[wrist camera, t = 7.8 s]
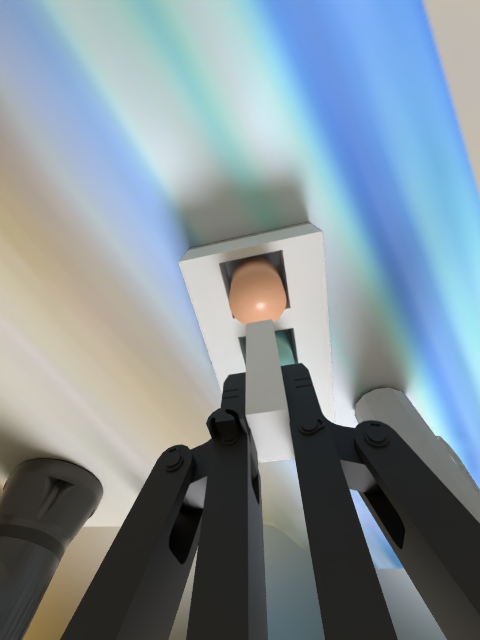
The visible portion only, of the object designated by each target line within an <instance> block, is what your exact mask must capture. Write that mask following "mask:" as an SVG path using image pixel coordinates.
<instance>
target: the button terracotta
mask: <svg viewBox="0 0 480 640" xmlns="http://www.w3.org/2000/svg"><path fill="white" fill-rule="evenodd" d="M229 307H230V310H231V312H232V314H233V315H234V317H235V318H236V319H237V320H238V321H240V322H241V323H243V324H245V325H246V324H247V323H252V322H258V321H264V320H269V319H272V321H273V322H275V321H276V320H277V319H278V318H279V317H280V316H281V315H282V313H283V312H284V310H285V307H286V294H285V291H284V288H283V285H282V282H281V279H280V276H279V273H278V270H277V268H276V267H275V265H274V264H273V263H272V262H271V261H269V260H268V259H266V258H263V257H258V256H255V257H249V258H246V259H244V260H242V261H241V262H240V263H239V264H238V265H237V266H236V267H235V269H234V271H233V275H232V281H231V288H230V295H229Z"/></svg>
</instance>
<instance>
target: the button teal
mask: <svg viewBox="0 0 480 640" xmlns="http://www.w3.org/2000/svg"><path fill="white" fill-rule="evenodd" d="M274 332H275V337H276V343H277V348H278V354H279V360H280V365H281V366H284V365H290V364H295V362H294V358H293V354H292V350H291V347H290V343H289V339H288V335H287V333H286V332H285V331H284V330H277V331H274Z"/></svg>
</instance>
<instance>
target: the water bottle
mask: <svg viewBox="0 0 480 640" xmlns="http://www.w3.org/2000/svg"><path fill="white" fill-rule="evenodd" d="M355 417H356V419H357V421H358V423H361V422H363V421H368V420H374V421H380V422H383V423H385V424H387V425H389V426H390V427H391V428H393V429H394V430H395V431H396V432H397V433H398V434H399V435H400V437H401V438H402V439H403V440H404V441H405V442H406V443H407V444H408V445H409V446H410V447H411V449H412V450H413V451H414V452H415V453H416V454H417V455H418V456H419V457H420V458H421V459H422V461H423V462H424V463H425V464H426V465H427V466H428V467H429V468H430V469H431V470H432V471H433V473H434V474H435V475H436V476H437V477H438V478H439V479H440V480H441V481H442V482H443V484H444V485H445V486H446V487H447V488H448V489H449V490H450V491H451V492H452V493H453V494H454V496H455V497H456V498H457V499H458V500H459V501H460V502H461V503H462V504H463V505H464V506H465V508H466V509H467V510H468V511H469V512H470V513H471V514H472V515H473V516H474V517H475V519H476V520H477V521H478V522H479V523H480V489H479V488H478V486H477V485H476V483H475V482H474V480H473V478H472V477H471V475H470V474H469V472H468V471H467V469H466V468H465V466H464V465H463V463H462V461H461V460H460V458H459V457H458V456H457V454H456V453H455V452H454V451H453V450H452V448H451V447H450V446H449V445H448V444H447V443H446V442H445V441H444V440H443V439H442V438H441V437H440V436H435V435H434V433H433V432H432V431H431V429H430V428H429V426H428V425H427V424H426V422H425V421H424V420H423V418H422V417H421V416H420V414H419V413H418V411H417V410H416V409H415V407H414V406H413V405H412V403H411V402H410V401H409V399H408V398H407V396H406V395H405V394H404V392H401V391H398V390H395V389H392V388H379V389H374V390H372V391H370V392H368V393H366V394H364V395H363V396H362V397H361V398H360V400H359V401H358V402H357V404H356V406H355ZM450 456H451V457H452V458H451V457H450ZM453 460H454V461H455V462H454V461H453ZM456 464H457V465H456Z"/></svg>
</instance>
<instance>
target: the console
mask: <svg viewBox="0 0 480 640" xmlns="http://www.w3.org/2000/svg"><path fill="white" fill-rule="evenodd" d="M255 256H258V257H263V258H266V259H268V260H269V261H271V262H272V263H273V264H274V265H275V267H276V268H277V270H278V273H279V276H280V279H281V282H282V285H283V288H284V291H285V294H286V307H285V310H284V312H283V313H282V315H281V316H280V317H279V318H278V319H277V320H276V321H275V322H273V326H274V331H277V330H284V331H285V332H286V333H287V335H288V339H289V343H290V347H291V350H292V354H293V358H294V362H295V364H297V363H302V364H303V365H304V366H306V367H307V368H308V370H309V373H310V376H311V379H312V382H313V386H314V389H315V392H316V395H317V398H318V401H319V404H320V407H321V411H322V413H323V415H324V416H325V417H326V418H327V419H328V420H329V421H331V422H332V423H333V422H336V419H335V404H334V389H333V375H332V360H331V345H330V330H329V316H328V301H327V286H326V271H325V257H324V242H323V231H322V230H321V229H319V228H318V227H316V226H315V225H313V224H312V223H311V222H306V223H301V224H296V225H292V226H287V227H283V228H278V229H274V230H269V231H265V232H260V233H256V234H251V235H246V236H242V237H237V238H233V239H228V240H224V241H219V242H215V243H210V244H205V245H201V246H196V247H192V248H189V249H188V250H187V252H186V253H185V254H184V256H183V257H182V258H181V259H180V261H179V265H180V269H181V272H182V275H183V278H184V281H185V284H186V287H187V290H188V293H189V296H190V299H191V302H192V305H193V308H194V311H195V314H196V317H197V320H198V323H199V326H200V329H201V332H202V335H203V338H204V341H205V344H206V347H207V350H208V353H209V356H210V359H211V362H212V365H213V368H214V371H215V374H216V377H217V380H218V383H219V386H220V389H221V392H222V393H223V384H224V381H225V380H226V378H227V377H228V375H230V374H237V373H243V372H246V325H245V324H243V323H241V322H240V321H238V320H237V319H236V318H235V317H234V315H233V314H232V312H231V310H230V307H229V295H230V288H231V281H232V275H233V271H234V269H235V267H236V266H237V265H238V264H239V263H240V262H241V261H242V260H244V259H246V258H249V257H255Z"/></svg>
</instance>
